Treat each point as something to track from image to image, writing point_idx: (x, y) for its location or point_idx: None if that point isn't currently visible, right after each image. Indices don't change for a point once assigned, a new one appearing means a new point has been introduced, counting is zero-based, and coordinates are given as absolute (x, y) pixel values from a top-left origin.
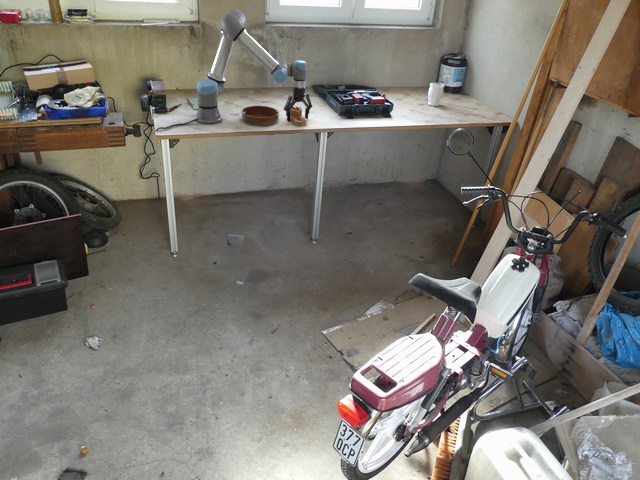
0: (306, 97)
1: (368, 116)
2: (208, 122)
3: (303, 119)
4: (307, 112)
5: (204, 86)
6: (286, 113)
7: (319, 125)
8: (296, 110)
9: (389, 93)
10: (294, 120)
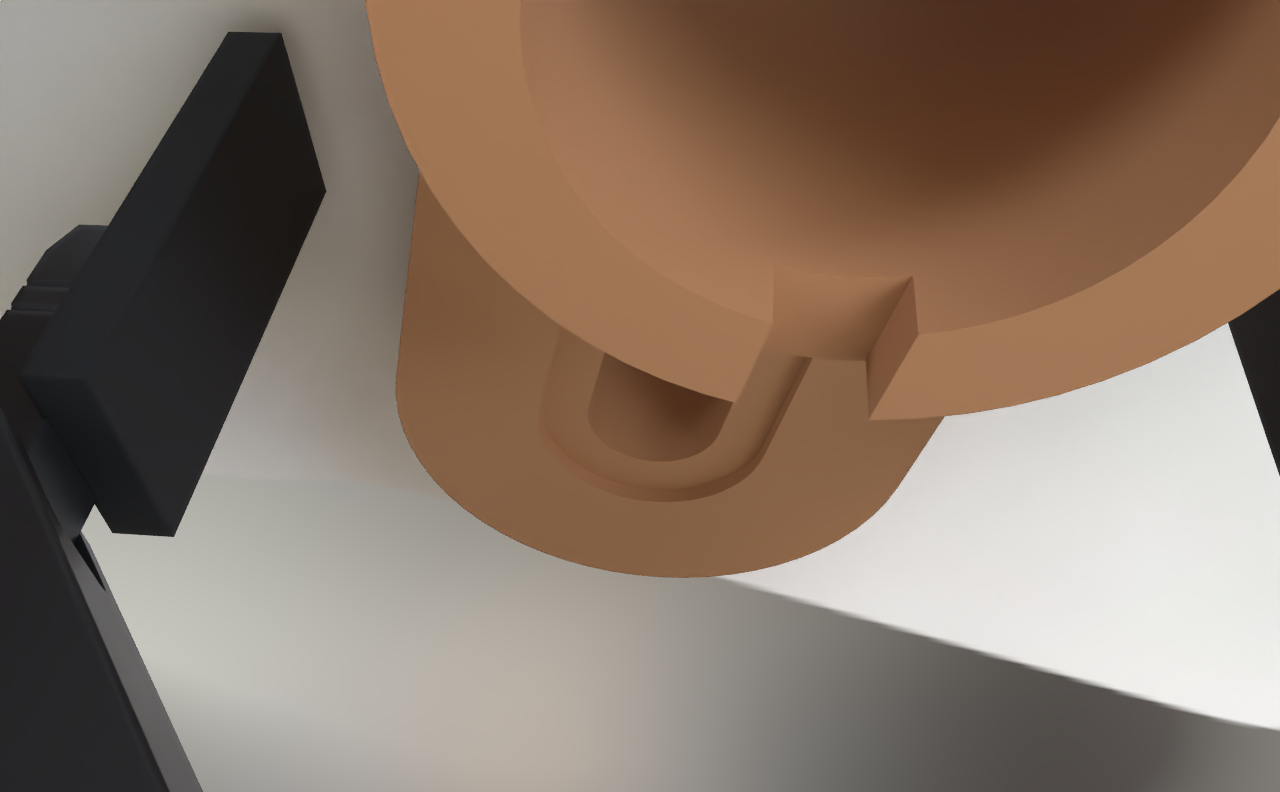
0: None
1: None
2: None
3: (815, 452)
4: (1276, 461)
5: None
6: (15, 348)
7: (1179, 567)
8: (685, 381)
9: None
10: (420, 412)
